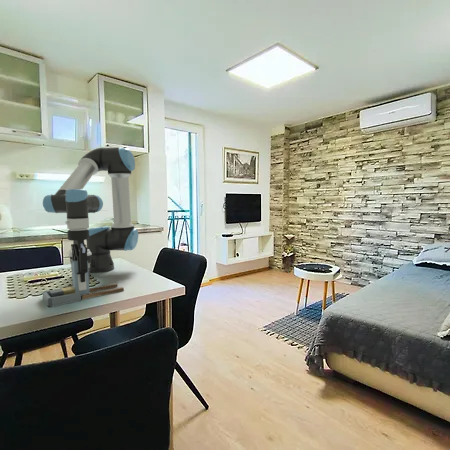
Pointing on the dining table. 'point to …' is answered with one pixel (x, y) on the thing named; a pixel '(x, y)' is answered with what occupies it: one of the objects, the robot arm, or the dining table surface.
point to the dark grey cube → (56, 293)
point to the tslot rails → (102, 291)
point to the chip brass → (68, 290)
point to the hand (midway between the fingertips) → (80, 288)
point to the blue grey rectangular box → (75, 278)
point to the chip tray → (60, 298)
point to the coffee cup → (87, 259)
